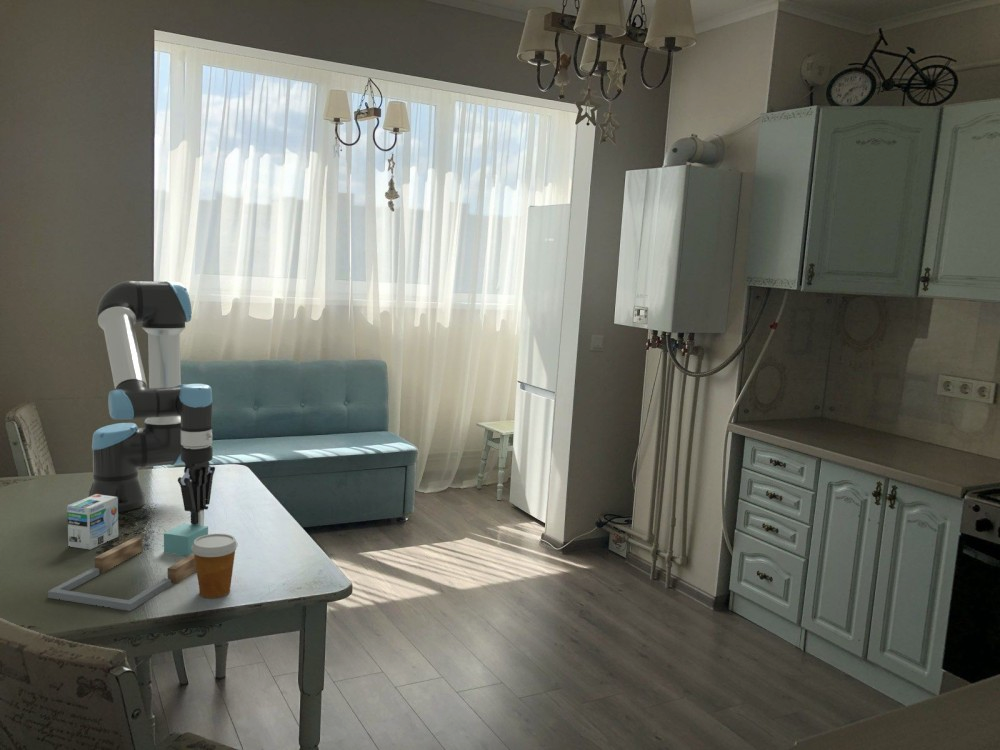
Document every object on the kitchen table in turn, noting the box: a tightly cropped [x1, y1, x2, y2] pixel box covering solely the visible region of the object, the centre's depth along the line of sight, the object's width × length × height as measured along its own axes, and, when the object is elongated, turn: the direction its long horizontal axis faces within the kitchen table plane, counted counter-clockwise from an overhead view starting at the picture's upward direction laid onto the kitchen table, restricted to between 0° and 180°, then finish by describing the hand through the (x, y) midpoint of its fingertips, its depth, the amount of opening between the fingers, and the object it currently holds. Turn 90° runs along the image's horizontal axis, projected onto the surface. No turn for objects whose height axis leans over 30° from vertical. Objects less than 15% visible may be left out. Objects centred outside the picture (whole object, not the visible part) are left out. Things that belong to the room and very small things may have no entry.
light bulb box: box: [66, 494, 119, 550], centre depth 198 cm, size 11×7×11 cm, turn 168°
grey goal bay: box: [47, 567, 172, 612], centre depth 171 cm, size 14×20×2 cm
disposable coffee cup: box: [191, 533, 239, 599], centre depth 172 cm, size 10×10×12 cm
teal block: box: [163, 522, 209, 557], centre depth 197 cm, size 8×7×5 cm
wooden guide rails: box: [94, 536, 197, 585], centre depth 185 cm, size 14×21×4 cm, turn 78°
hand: (197, 534), depth 202 cm, fingers closed
